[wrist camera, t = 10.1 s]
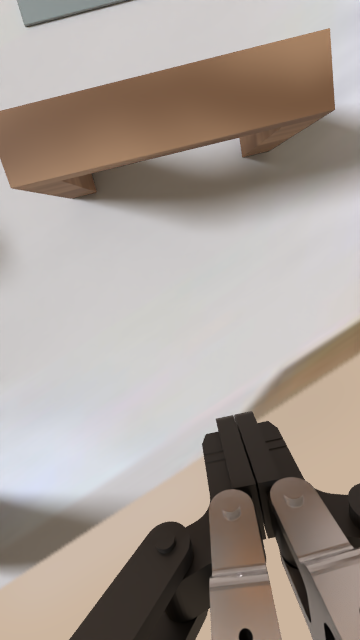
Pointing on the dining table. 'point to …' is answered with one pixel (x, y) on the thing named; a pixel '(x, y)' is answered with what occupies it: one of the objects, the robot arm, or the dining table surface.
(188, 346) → the dining table surface
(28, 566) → the dining table surface
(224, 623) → the robot arm
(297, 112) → the bridge
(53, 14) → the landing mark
